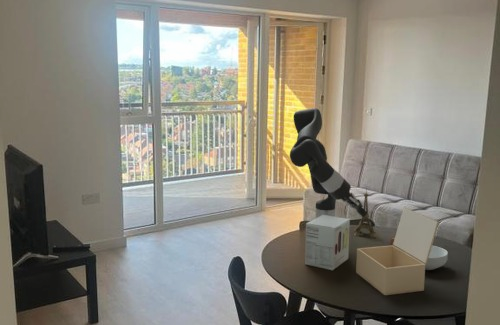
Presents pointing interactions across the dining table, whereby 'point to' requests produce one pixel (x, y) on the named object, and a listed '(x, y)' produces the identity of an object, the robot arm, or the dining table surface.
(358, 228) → the eiffel tower
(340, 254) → the supplement box
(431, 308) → the dining table surface
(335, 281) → the dining table surface
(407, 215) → the mailer lid
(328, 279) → the dining table surface
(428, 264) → the cereal bowl
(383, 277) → the mailer box
